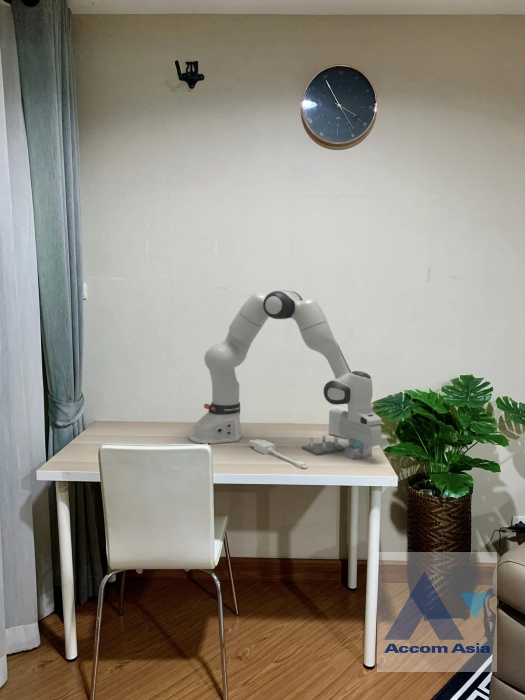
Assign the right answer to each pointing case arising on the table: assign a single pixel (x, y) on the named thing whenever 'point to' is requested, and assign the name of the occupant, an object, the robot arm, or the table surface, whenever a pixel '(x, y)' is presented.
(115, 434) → the table surface
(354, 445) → the block
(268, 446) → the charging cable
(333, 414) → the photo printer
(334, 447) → the peg board
